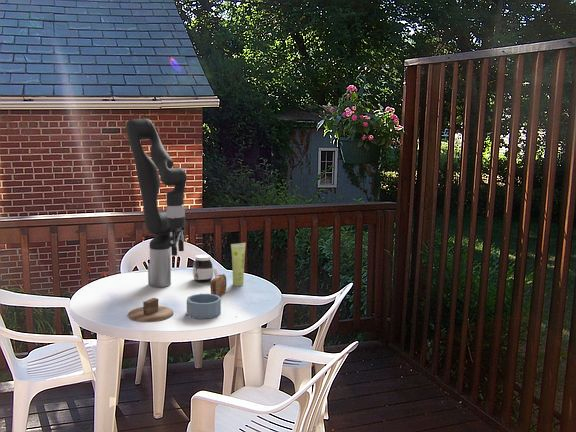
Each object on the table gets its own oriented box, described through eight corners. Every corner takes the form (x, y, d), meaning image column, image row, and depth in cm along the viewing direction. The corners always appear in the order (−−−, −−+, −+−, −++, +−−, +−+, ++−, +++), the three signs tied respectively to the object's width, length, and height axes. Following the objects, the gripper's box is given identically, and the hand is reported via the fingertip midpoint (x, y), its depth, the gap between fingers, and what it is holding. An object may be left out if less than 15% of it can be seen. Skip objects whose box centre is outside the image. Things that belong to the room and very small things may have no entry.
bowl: (180, 315, 227) (180, 300, 226) (199, 306, 238) (199, 291, 237) (208, 321, 221) (208, 305, 220) (226, 311, 233) (227, 296, 232)
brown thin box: (216, 300, 246) (216, 281, 245) (209, 300, 247) (209, 280, 245) (227, 290, 261) (227, 272, 259) (220, 290, 261) (220, 271, 260)
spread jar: (190, 278, 278) (190, 254, 276) (212, 275, 284) (212, 252, 282) (201, 285, 268) (201, 260, 266) (223, 282, 274) (224, 257, 272)
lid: (118, 318, 223) (118, 302, 222) (147, 305, 238) (147, 291, 237) (154, 325, 216) (154, 310, 215) (182, 312, 231) (182, 297, 230)
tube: (240, 287, 266) (241, 244, 263) (230, 285, 268) (230, 243, 265) (245, 283, 272) (245, 242, 269) (235, 282, 273) (235, 241, 270)
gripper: (173, 213, 255) (175, 249, 258) (161, 218, 241) (163, 257, 244) (189, 213, 254) (191, 249, 257) (178, 218, 240) (180, 257, 243)
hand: (177, 253), depth 250 cm, fingers open, 8 cm apart
